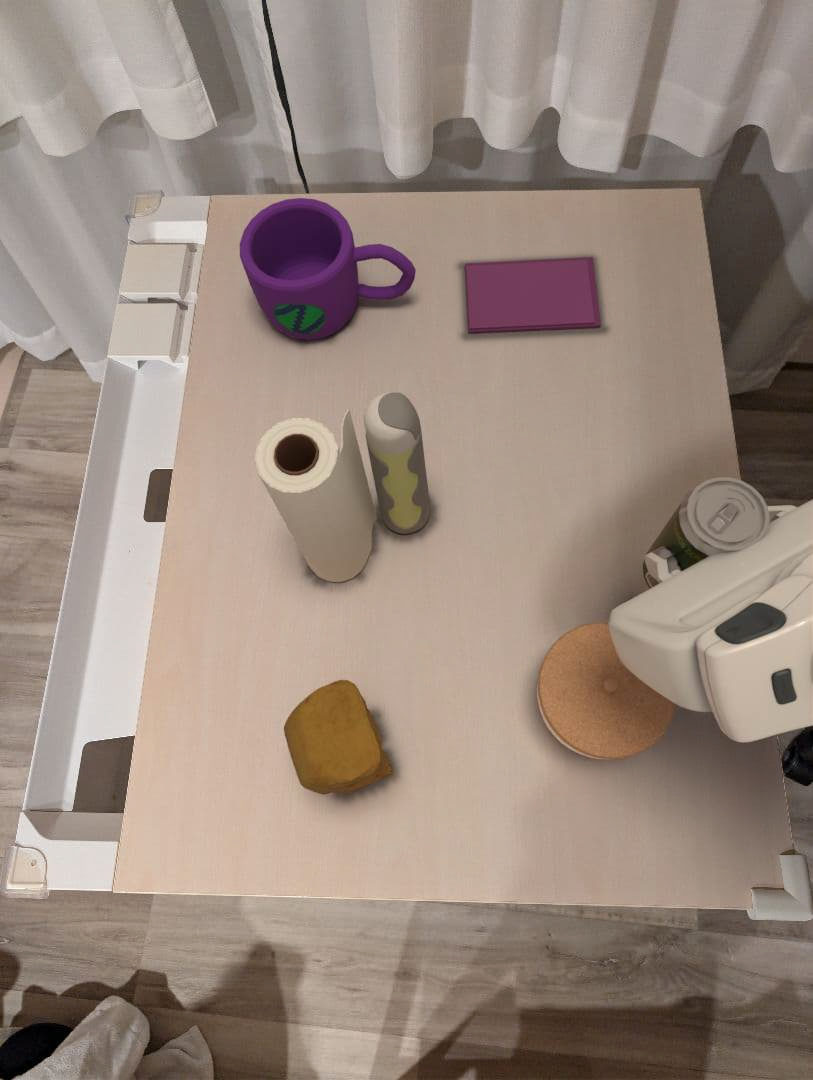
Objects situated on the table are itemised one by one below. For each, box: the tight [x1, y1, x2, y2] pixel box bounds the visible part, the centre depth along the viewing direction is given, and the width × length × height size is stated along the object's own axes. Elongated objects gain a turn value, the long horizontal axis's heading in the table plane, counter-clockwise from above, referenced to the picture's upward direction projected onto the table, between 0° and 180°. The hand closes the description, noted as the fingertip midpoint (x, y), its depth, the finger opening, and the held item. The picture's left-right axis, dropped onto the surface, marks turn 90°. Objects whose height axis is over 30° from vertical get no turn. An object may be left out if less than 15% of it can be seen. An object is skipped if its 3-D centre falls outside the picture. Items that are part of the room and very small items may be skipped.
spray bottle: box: [363, 391, 431, 535], centre depth 66 cm, size 5×5×20 cm
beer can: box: [642, 476, 770, 589], centre depth 53 cm, size 5×5×12 cm
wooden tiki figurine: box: [283, 679, 394, 796], centre depth 61 cm, size 7×6×15 cm
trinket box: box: [536, 622, 676, 760], centre depth 64 cm, size 11×11×9 cm
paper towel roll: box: [254, 408, 377, 583], centre depth 65 cm, size 7×6×21 cm
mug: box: [239, 197, 417, 341], centre depth 80 cm, size 17×11×10 cm, turn 87°
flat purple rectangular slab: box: [464, 256, 602, 334], centre depth 83 cm, size 14×9×1 cm, turn 91°
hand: (694, 537), depth 53 cm, fingers closed on beer can, 5 cm apart
